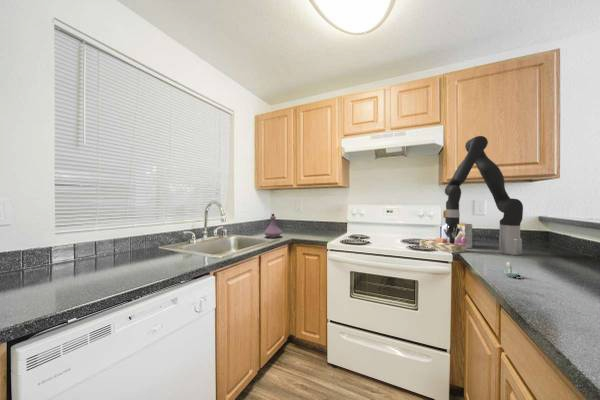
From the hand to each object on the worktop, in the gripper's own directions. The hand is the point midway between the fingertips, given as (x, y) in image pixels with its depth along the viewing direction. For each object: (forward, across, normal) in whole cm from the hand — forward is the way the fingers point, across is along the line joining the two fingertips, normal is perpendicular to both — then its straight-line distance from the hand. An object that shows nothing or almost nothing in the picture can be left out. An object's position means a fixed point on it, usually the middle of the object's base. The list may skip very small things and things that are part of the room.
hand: (452, 243), depth 144 cm
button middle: (+1, 0, +7) cm, 7 cm away
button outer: (+3, 0, +14) cm, 14 cm away
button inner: (+3, 0, 0) cm, 3 cm away
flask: (+5, -90, +95) cm, 131 cm away
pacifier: (+5, -24, -41) cm, 48 cm away
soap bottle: (+5, +32, +23) cm, 40 cm away
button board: (+4, 0, +7) cm, 8 cm away
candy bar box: (+5, +18, +4) cm, 19 cm away
